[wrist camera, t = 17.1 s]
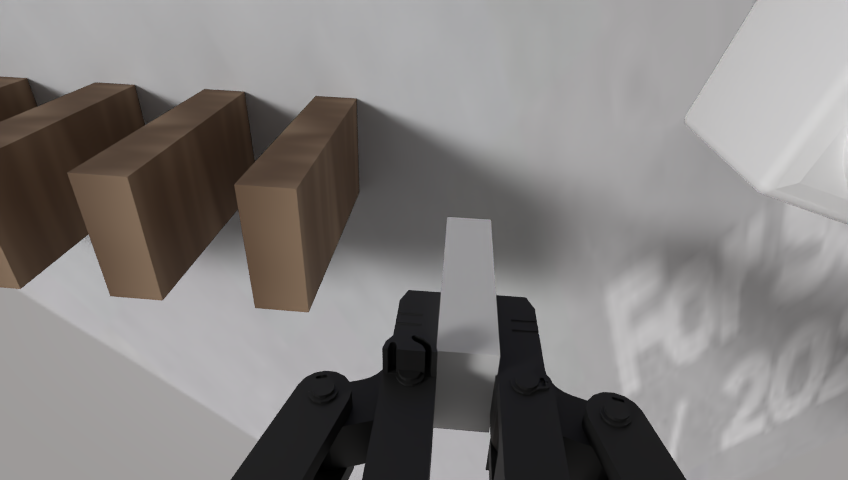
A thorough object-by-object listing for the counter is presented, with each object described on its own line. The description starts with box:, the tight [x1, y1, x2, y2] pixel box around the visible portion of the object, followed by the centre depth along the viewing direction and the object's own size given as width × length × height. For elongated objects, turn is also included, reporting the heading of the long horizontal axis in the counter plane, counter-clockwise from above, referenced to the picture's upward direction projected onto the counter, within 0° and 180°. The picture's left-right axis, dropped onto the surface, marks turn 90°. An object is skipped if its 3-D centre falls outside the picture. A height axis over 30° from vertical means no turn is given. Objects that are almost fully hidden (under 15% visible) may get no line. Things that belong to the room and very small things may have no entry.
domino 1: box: [0, 83, 145, 289], centre depth 22 cm, size 2×5×10 cm, turn 178°
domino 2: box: [67, 89, 255, 300], centre depth 22 cm, size 2×5×10 cm, turn 178°
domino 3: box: [234, 96, 359, 312], centre depth 22 cm, size 2×5×10 cm, turn 178°
